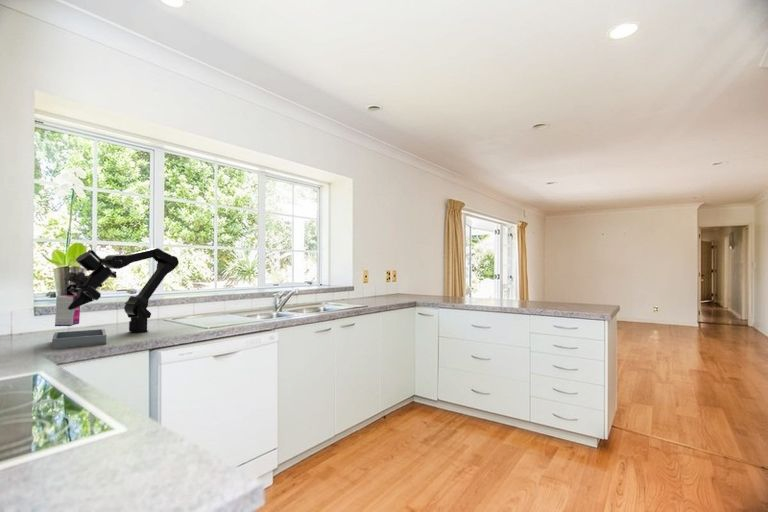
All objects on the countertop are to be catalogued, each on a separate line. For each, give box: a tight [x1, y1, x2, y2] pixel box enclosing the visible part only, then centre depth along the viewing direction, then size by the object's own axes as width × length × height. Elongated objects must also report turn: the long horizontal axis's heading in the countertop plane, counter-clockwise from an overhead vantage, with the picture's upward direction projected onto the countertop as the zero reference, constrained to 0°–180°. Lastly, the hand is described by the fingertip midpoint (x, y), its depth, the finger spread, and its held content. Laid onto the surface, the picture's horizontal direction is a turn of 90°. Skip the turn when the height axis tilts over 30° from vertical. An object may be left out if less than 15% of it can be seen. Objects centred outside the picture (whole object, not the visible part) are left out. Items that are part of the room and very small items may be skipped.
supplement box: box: [54, 294, 81, 327], centre depth 155 cm, size 6×6×12 cm
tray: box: [51, 328, 108, 350], centre depth 154 cm, size 16×16×4 cm
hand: (63, 308), depth 154 cm, fingers closed on supplement box, 8 cm apart
